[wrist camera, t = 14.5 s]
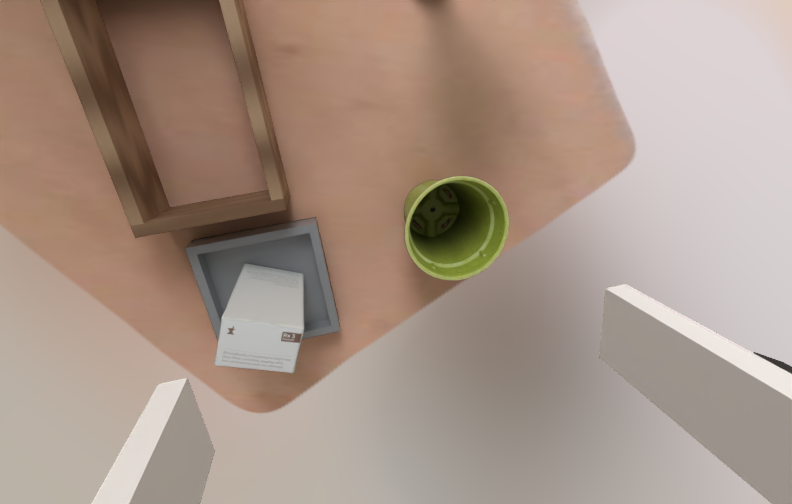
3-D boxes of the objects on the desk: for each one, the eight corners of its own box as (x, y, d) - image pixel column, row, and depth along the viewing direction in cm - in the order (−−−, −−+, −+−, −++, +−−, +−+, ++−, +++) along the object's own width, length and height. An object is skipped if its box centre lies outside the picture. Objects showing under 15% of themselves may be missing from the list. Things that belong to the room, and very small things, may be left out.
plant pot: (431, 266, 44) (457, 300, 36) (369, 214, 41) (383, 237, 33) (488, 204, 43) (529, 224, 35) (429, 145, 40) (459, 152, 32)
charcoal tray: (192, 240, 38) (184, 248, 36) (316, 217, 40) (316, 223, 37) (228, 344, 42) (223, 357, 40) (338, 319, 44) (340, 330, 41)
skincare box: (237, 299, 40) (208, 370, 29) (244, 259, 39) (216, 316, 27) (298, 308, 42) (293, 379, 30) (307, 270, 40) (304, 329, 29)
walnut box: (58, -62, 29) (-2, -105, 24) (224, -76, 31) (204, -119, 25) (162, 219, 37) (135, 237, 31) (290, 196, 38) (286, 209, 33)
